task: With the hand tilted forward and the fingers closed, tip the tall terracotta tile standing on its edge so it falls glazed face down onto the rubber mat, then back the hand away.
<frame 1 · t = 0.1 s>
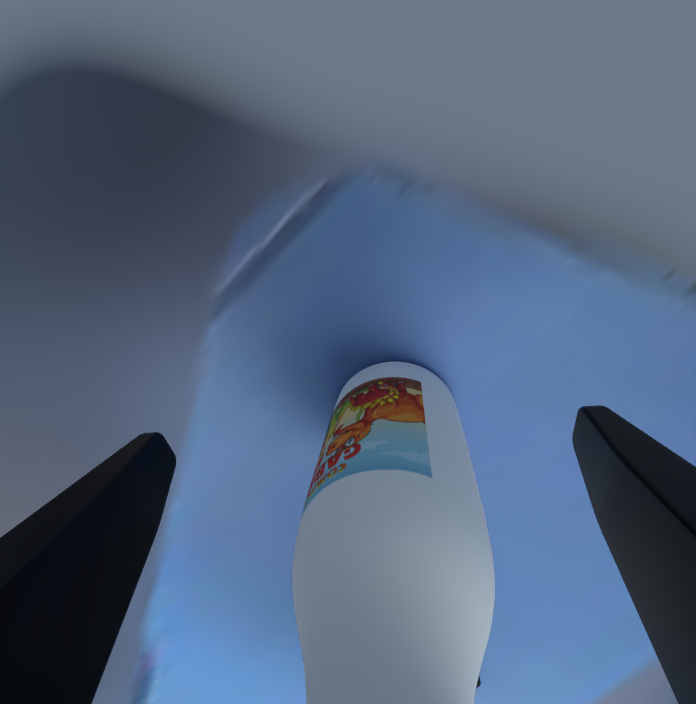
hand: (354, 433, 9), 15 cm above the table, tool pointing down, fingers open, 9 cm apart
milk bottle: (395, 410, 26), on the table
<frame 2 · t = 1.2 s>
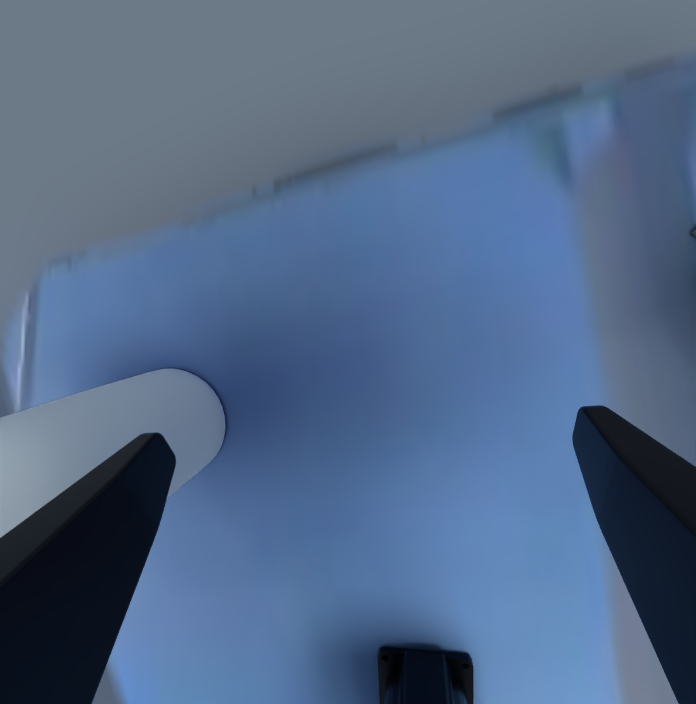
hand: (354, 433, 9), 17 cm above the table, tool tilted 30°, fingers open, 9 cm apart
milk bottle: (180, 418, 29), on the table
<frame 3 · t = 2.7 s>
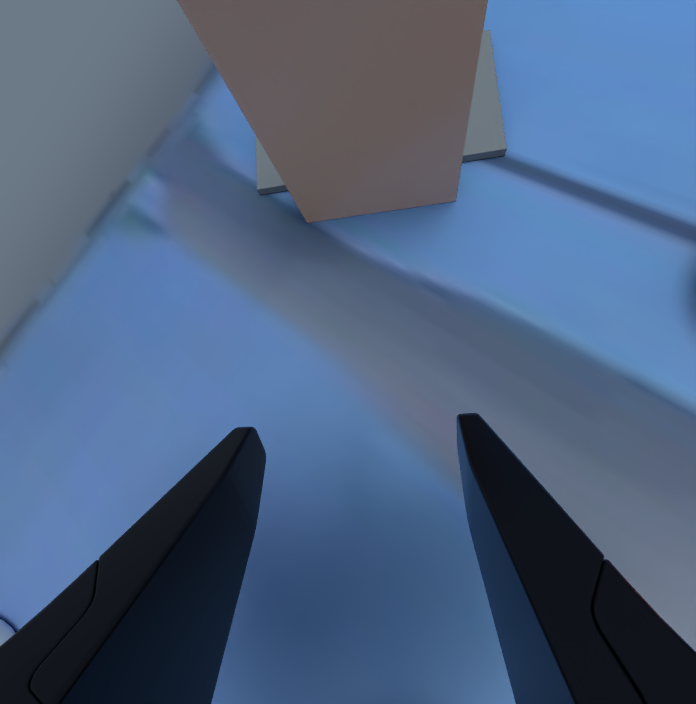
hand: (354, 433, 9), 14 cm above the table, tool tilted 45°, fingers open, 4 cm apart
tile: (377, 197, 24), on the table
mat: (371, 118, 25), on the table
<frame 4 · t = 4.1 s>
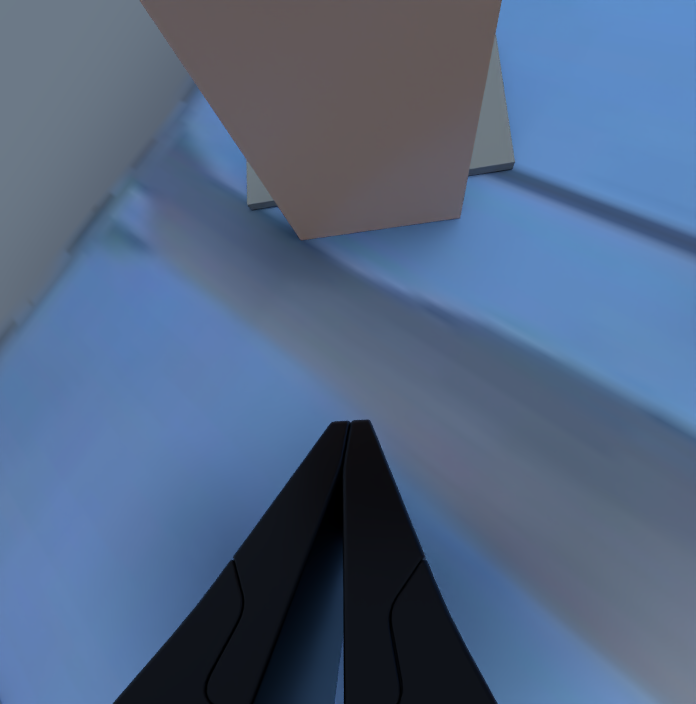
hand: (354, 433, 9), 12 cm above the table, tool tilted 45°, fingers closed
tile: (376, 213, 23), on the table
mat: (369, 128, 23), on the table
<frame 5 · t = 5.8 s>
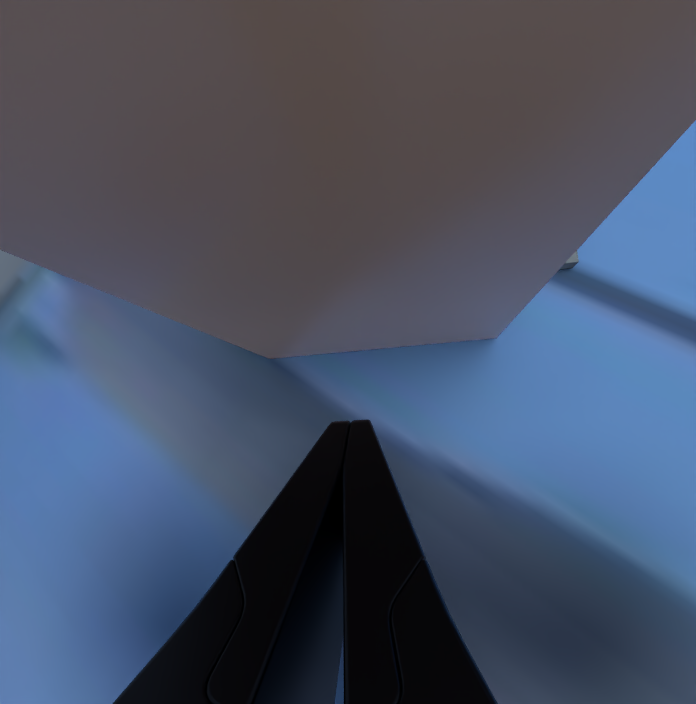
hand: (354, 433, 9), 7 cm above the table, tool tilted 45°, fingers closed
tile: (375, 324, 16), on the table
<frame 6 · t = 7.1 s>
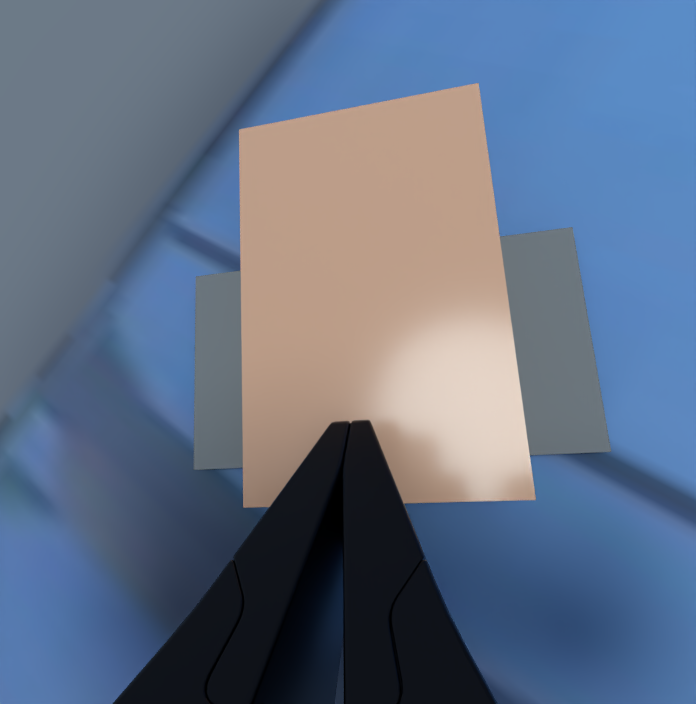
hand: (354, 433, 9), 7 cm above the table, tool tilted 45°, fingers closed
tile: (383, 497, 13), point 2 cm above the table, tilted 90°, touching mat
mat: (378, 355, 16), on the table
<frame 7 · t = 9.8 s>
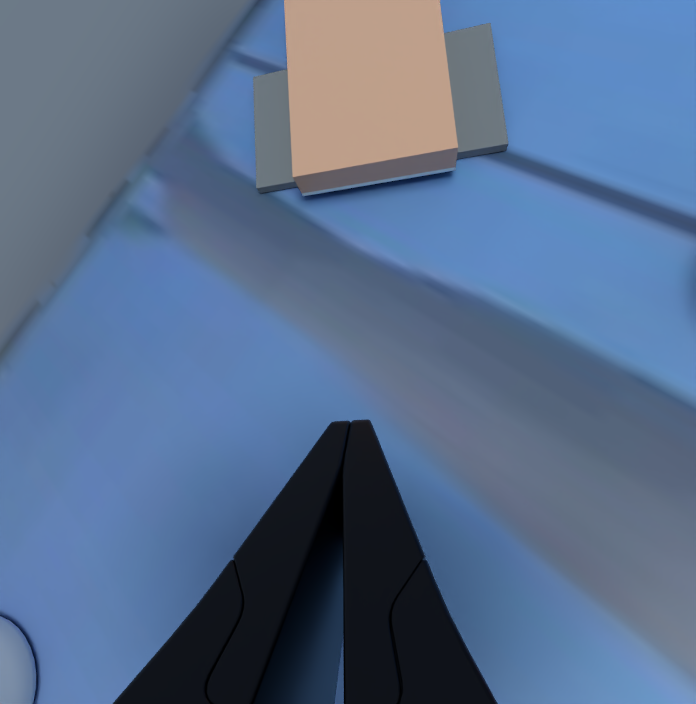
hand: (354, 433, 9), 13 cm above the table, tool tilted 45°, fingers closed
tile: (374, 173, 22), point 2 cm above the table, tilted 90°, touching mat
mat: (371, 114, 25), on the table
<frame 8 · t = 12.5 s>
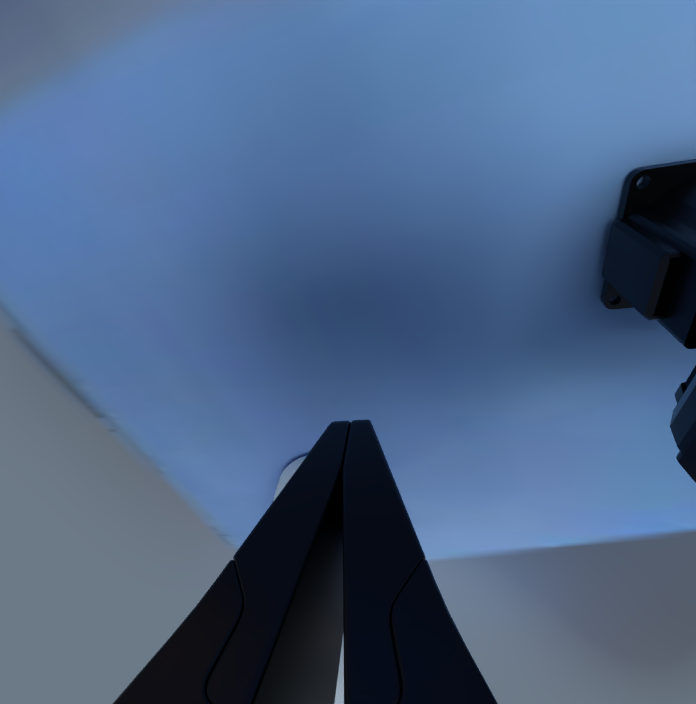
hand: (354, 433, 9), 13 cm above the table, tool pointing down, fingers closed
milk bottle: (329, 480, 31), on the table
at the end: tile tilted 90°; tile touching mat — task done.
